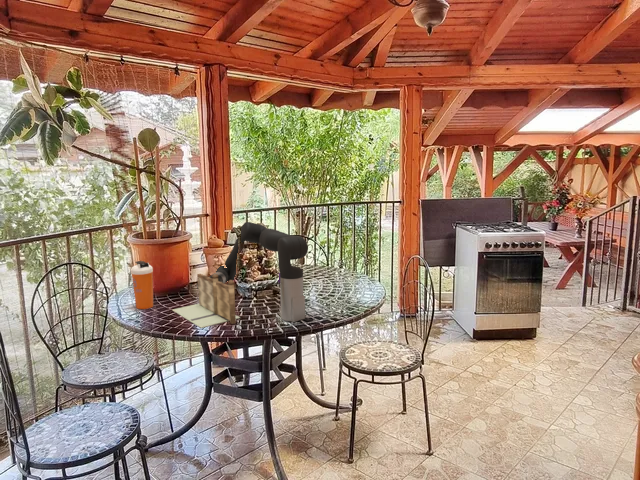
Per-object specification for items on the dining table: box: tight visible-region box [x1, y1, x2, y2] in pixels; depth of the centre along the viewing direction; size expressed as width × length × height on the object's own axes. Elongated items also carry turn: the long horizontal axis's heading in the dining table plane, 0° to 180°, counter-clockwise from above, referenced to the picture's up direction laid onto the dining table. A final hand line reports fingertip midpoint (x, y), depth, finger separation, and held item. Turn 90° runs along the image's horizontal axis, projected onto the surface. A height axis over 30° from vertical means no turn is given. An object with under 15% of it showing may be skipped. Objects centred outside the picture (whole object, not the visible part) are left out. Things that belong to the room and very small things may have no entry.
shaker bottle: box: [130, 260, 154, 310], centre depth 194 cm, size 9×9×20 cm
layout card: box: [171, 303, 241, 329], centre depth 186 cm, size 28×17×1 cm, turn 40°
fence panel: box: [196, 273, 214, 312], centre depth 190 cm, size 14×1×14 cm, turn 40°
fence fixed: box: [212, 273, 237, 325], centre depth 178 cm, size 16×2×17 cm, turn 40°
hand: (203, 291), depth 196 cm, fingers closed
